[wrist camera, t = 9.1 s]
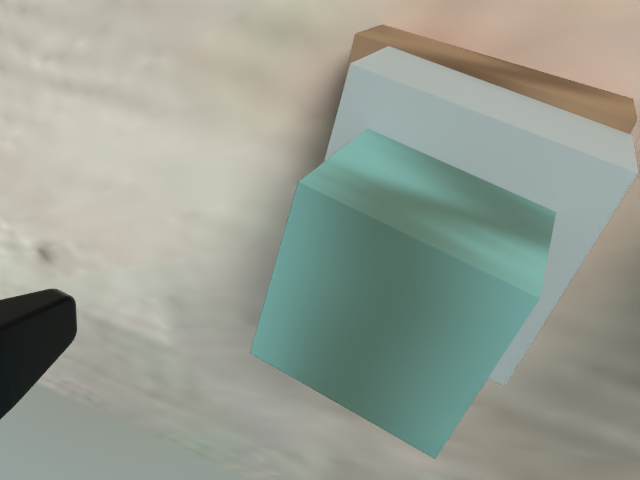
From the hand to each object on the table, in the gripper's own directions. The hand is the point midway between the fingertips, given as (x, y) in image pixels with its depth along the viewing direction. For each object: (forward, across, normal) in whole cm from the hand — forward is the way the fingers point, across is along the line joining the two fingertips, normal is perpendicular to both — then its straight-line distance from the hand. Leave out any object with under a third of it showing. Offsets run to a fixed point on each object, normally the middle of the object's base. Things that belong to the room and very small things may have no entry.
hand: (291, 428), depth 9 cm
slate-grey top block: (+10, 0, 0) cm, 10 cm away
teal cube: (+7, 0, 0) cm, 7 cm away
